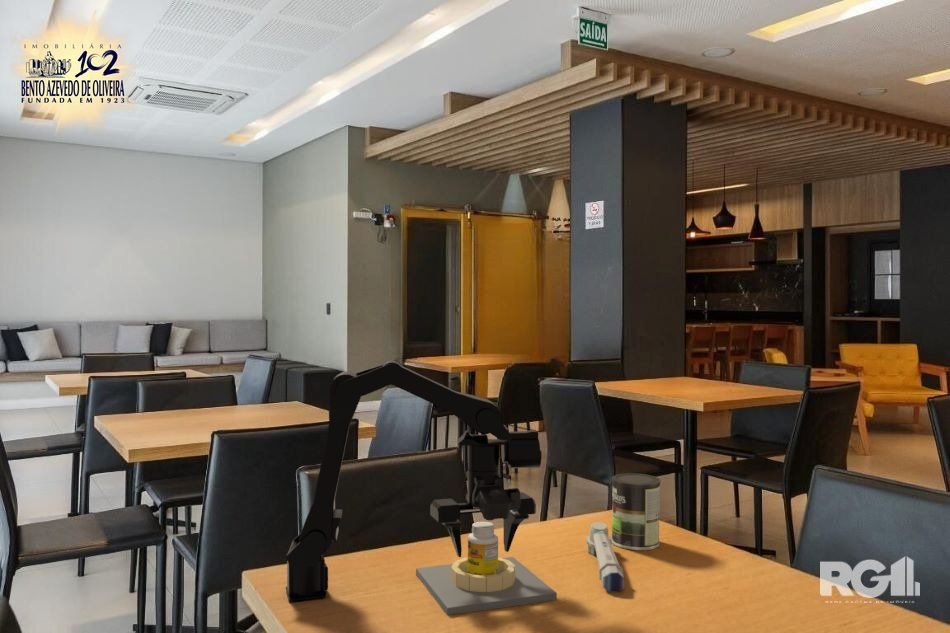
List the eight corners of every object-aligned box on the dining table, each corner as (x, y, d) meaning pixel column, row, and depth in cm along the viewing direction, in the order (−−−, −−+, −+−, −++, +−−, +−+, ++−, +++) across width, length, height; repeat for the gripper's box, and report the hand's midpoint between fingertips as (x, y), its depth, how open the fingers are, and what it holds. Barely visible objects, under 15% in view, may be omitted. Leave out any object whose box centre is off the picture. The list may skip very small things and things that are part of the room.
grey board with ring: (447, 615, 125) (447, 592, 125) (415, 574, 144) (415, 555, 144) (556, 599, 131) (556, 578, 131) (512, 562, 150) (513, 544, 150)
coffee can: (622, 552, 157) (622, 484, 157) (604, 537, 167) (605, 474, 167) (668, 549, 159) (668, 482, 159) (648, 534, 169) (648, 472, 169)
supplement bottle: (462, 577, 139) (462, 522, 138) (488, 572, 141) (488, 518, 141) (476, 587, 134) (476, 530, 134) (503, 582, 136) (503, 526, 136)
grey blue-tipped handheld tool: (599, 571, 135) (585, 514, 160) (598, 606, 136) (584, 544, 161) (628, 572, 135) (610, 514, 159) (627, 607, 136) (609, 544, 160)
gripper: (448, 482, 126) (447, 574, 127) (548, 474, 133) (548, 562, 133) (429, 468, 137) (429, 554, 137) (523, 462, 143) (523, 543, 143)
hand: (483, 553), depth 137 cm, fingers open, 9 cm apart
